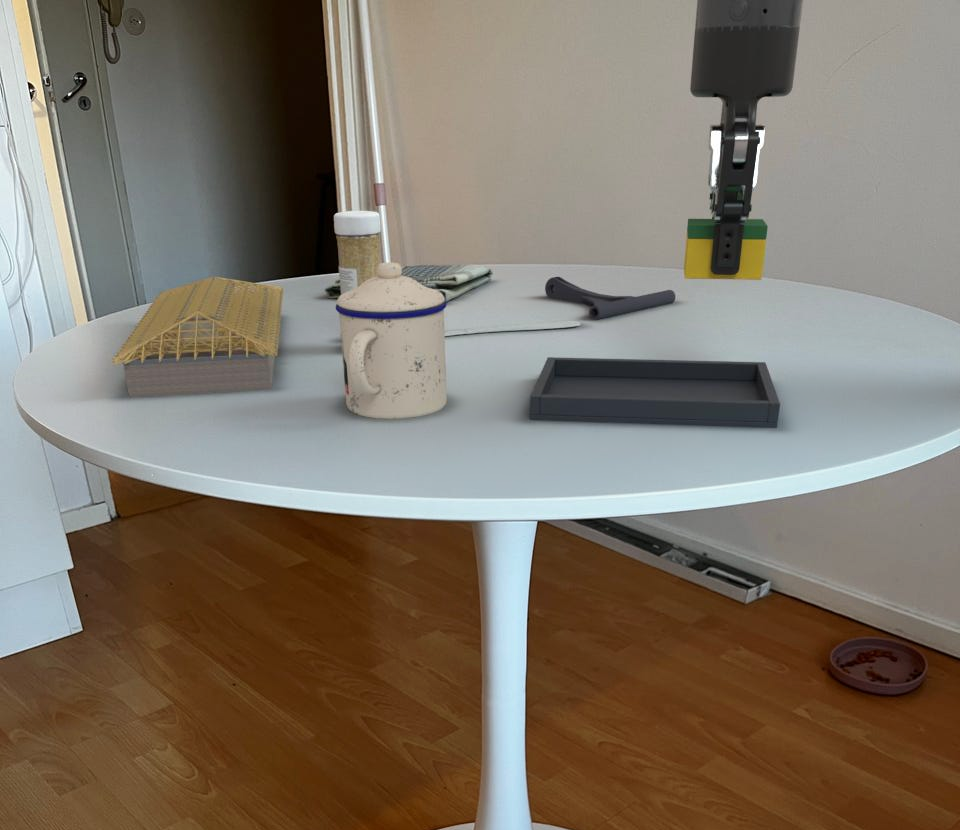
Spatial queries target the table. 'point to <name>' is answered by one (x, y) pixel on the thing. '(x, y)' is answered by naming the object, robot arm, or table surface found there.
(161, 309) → the rafter model
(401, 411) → the teacup with lid
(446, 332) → the butter knife
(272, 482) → the table surface
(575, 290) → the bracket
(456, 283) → the dish towel
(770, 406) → the tray
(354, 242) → the sprinkles bottle
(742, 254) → the sponge
